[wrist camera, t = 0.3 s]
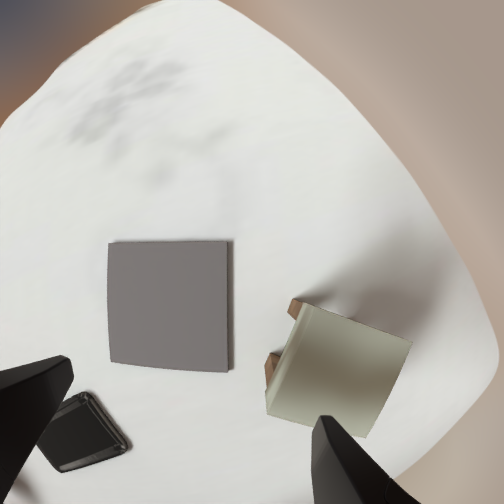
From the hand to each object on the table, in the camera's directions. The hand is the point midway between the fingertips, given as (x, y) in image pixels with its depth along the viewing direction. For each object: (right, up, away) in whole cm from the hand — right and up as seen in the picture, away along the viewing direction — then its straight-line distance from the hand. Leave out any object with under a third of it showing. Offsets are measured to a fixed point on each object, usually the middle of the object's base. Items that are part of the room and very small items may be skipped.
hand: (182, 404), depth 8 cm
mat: (-5, 0, +15) cm, 16 cm away
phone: (-19, -16, +14) cm, 29 cm away
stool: (+7, -3, +15) cm, 17 cm away
